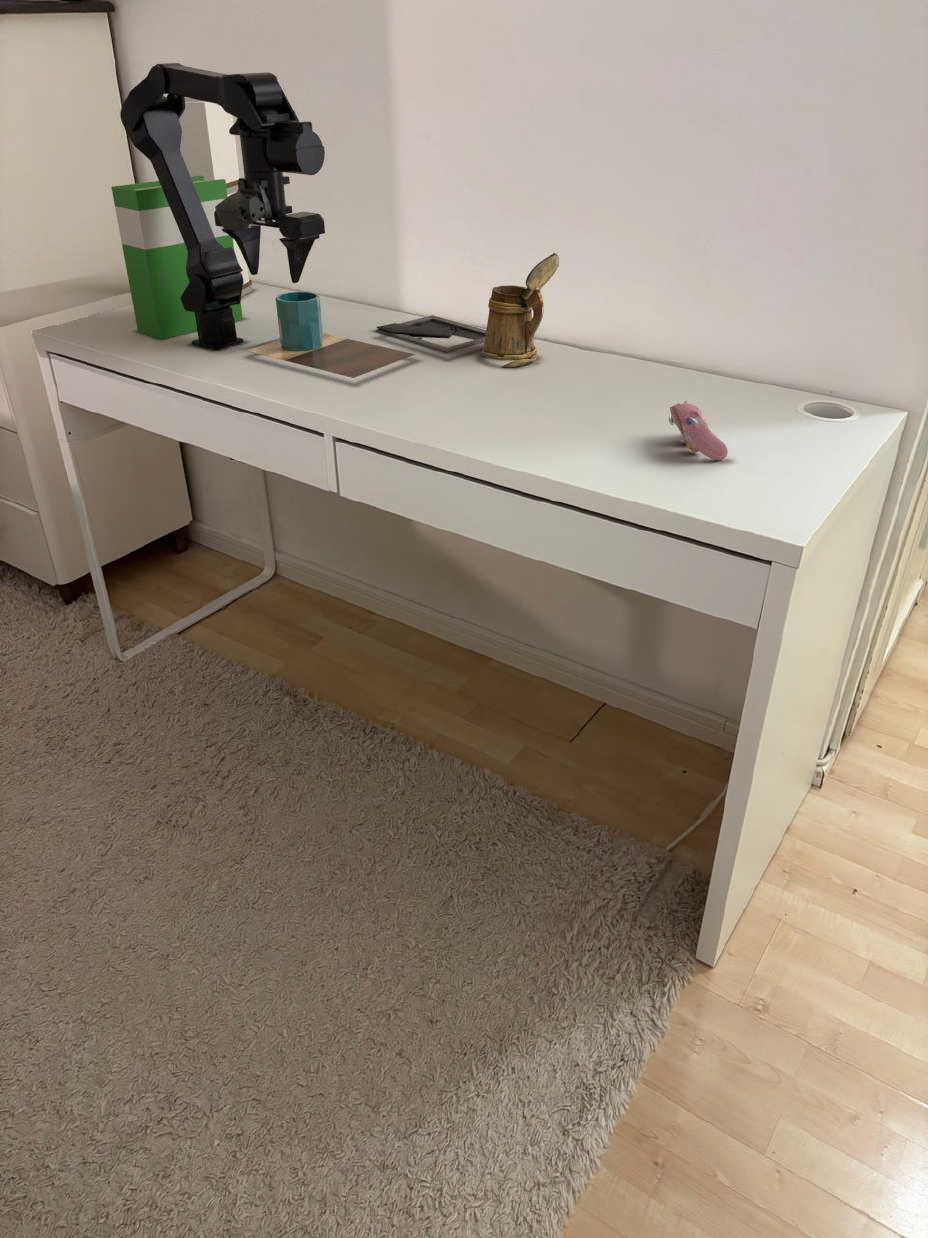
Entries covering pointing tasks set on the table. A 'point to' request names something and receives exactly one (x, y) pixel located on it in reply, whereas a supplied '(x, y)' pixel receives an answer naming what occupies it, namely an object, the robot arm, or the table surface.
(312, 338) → the teal cup
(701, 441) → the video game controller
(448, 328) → the picture frame
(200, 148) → the tall white box
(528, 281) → the wooden mug
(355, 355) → the serving board
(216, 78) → the robot arm
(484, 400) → the table surface
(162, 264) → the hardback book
